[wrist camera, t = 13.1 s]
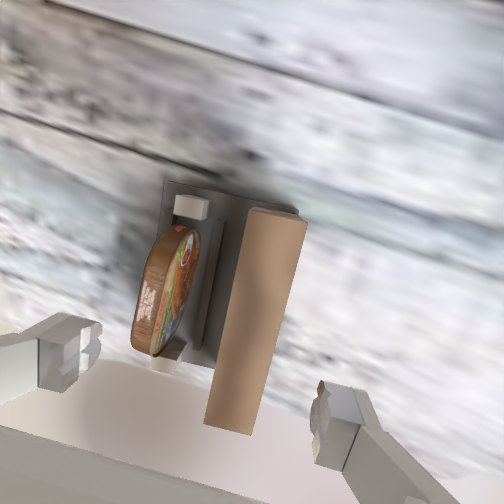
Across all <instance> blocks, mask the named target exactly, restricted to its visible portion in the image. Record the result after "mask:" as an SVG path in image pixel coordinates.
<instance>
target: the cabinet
mask: <svg viewBox="0 0 504 504" xmlns="http://www.w3.org/2000/svg"><path fill="white" fill-rule="evenodd" d="M298 212H299V210H296V209H291V208H287V207H282V206H278V205H273V204H269V203H264V202H260V201H256V200H251V199H247V198H242V197H238V196H233V195H229V194H224V193H220V192H216V191H211V190H207V189H202V188H198V187H193V186H189V185H184V184H180V183H176V182H171V181H165V182H164V190H163V197H162V204H161V211H160V219H159V226H158V233H157V239H158V237H159V236H160V235H161V234H162V232H163V231H165V230H166V229H168V228H170V227H172V226H174V225H181V226H185V227H187V228H190V229H196V230H198V231H199V232H200V234H201V249H200V254H199V259H198V262H197V266H196V270H195V274H194V277H193V281H192V285H191V288H190V292H189V296H188V300H187V303H186V307H185V310H184V313H183V316H182V319H181V322H180V324H179V326H178V328H177V330H176V332H175V334H174V336H173V338H172V339H171V341H170V343H169V344H168V346H167V347H166V349H165V350H164V351H163V352H162V354H161V355H160V356H158V357H156V358H153V357H152V360H151V367H150V369H151V370H155V371H159V372H164V373H168V374H172V375H175V373H176V371H177V369H178V367H179V365H180V364H181V362H182V361H183V362H187V363H191V364H195V365H200V366H204V367H208V368H212V369H215V371H214V376H213V381H212V385H211V390H210V395H209V399H208V404H207V409H206V413H205V418H204V424H206V425H210V426H214V427H218V428H222V429H226V430H230V431H234V432H238V433H242V434H246V435H250V436H251V435H252V431H253V427H254V424H255V420H256V416H257V412H258V409H259V405H260V401H261V398H262V394H263V390H264V386H265V383H266V379H267V375H268V371H269V368H270V364H271V360H272V356H273V353H274V349H275V345H276V342H277V338H278V334H279V330H280V327H281V323H282V319H283V315H284V312H285V308H286V304H287V300H288V297H289V293H290V289H291V285H292V282H293V278H294V274H295V271H296V267H297V263H298V259H299V256H300V252H301V248H302V244H303V241H304V237H305V233H306V229H307V226H308V223H307V222H306V221H305V220H303V219H302V218H301V217H300V216H298Z"/></svg>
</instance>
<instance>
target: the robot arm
mask: <svg viewBox="0 0 504 504" xmlns="http://www.w3.org/2000/svg"><path fill="white" fill-rule="evenodd" d="M101 334H102V324H101V323H100V322H96V321H93V320H89V319H86V318H82V317H79V316H74V315H71V314H68V313H64V312H58V313H56V314H54V315H53V316H51V317H49V318H47V319H45V320H43V321H41V322H40V323H38V324H36V325H34V326H32V327H30V328H28V329H27V330H25V331H23V332H21V333H19V334H18V333H11V334H6V335H1V336H0V405H2V404H5V403H7V402H9V401H11V400H13V399H16V398H18V397H20V396H22V395H25V394H27V393H29V392H31V391H33V390H36V389H37V388H38V387H39V388H43V389H48V390H51V391H55V392H59V393H63V392H64V391H66V390H67V389H68V388H69V387H70V386H71V385H72V384H73V383H74V382H75V381H77V380H78V377H79V373H81V372H84V371H87V370H88V369H89V368H91V367H92V366H93V365H94V363H95V362H96V360H97V358H98V357H99V354H100V351H101V343H100V341H99V339H98V337H99V336H100V335H101ZM317 393H318V397H317V398H316V399H314V400H313V404H312V407H311V413H310V429H311V432H312V433H313V434H314V439H313V442H312V446H313V455H314V462H315V464H317V465H321V466H324V467H327V468H330V469H333V470H337V471H340V472H342V475H343V476H344V478H345V480H346V482H347V483H348V485H349V486H350V488H351V490H352V491H353V493H354V495H355V496H356V498H357V500H358V501H359V503H360V504H460V503H459V502H458V501H457V500H456V499H455V498H454V497H453V496H452V495H451V494H450V493H449V492H448V491H447V490H446V489H445V488H444V487H443V486H442V485H441V484H440V483H439V482H438V481H437V480H436V479H435V478H434V477H433V476H432V475H431V474H430V473H429V472H428V471H427V470H426V469H425V468H424V467H423V466H422V465H421V464H420V463H418V462H417V461H416V460H415V459H414V458H413V457H412V456H411V455H410V454H409V453H408V452H407V451H406V450H405V449H404V448H403V447H402V446H401V445H400V444H399V443H398V442H397V441H396V440H395V439H394V438H393V437H392V436H391V435H390V434H389V433H388V432H384V431H383V429H382V427H381V424H380V422H379V420H378V417H377V415H376V413H375V410H374V408H373V406H372V403H371V401H370V399H369V396H368V394H367V392H366V391H365V390H362V389H357V388H353V387H347V386H343V385H339V384H335V383H331V382H327V381H323V380H321V381H320V383H319V385H318V388H317ZM0 504H269V503H265V502H262V501H259V500H255V499H252V498H248V497H245V496H242V495H238V494H235V493H231V492H228V491H225V490H221V489H218V488H214V487H211V486H208V485H204V484H201V483H197V482H194V481H191V480H187V479H184V478H180V477H177V476H173V475H170V474H166V473H163V472H160V471H156V470H153V469H149V468H146V467H142V466H139V465H136V464H132V463H129V462H125V461H122V460H118V459H115V458H111V457H108V456H105V455H101V454H97V453H94V452H91V451H87V450H84V449H80V448H77V447H74V446H70V445H66V444H63V443H59V442H57V441H53V440H49V439H46V438H43V437H39V436H36V435H33V434H29V433H26V432H22V431H18V430H15V429H12V428H8V427H5V426H1V425H0Z"/></svg>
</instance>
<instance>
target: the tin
mask: <svg viewBox="0 0 504 504" xmlns="http://www.w3.org/2000/svg"><path fill="white" fill-rule="evenodd" d="M200 249H201V234H200V232H199V231H198V230H196V229H190V228H187V227H185V226H181V225H174V226H172V227H170V228H168V229H166V230H165V231H163V232H162V234H161V235H160V236H159V237H158V239H157V240H156V242H155V243H154V245H153V247H152V249H151V251H150V254H149V256H148V259H147V262H146V265H145V270H144V274H143V278H142V283H141V287H140V292H139V296H138V301H137V306H136V310H135V315H134V320H133V325H132V330H131V338H130V339H131V345H132V347H133V348H134V349H136V350H138V351H140V352H142V353H145V354H148V355H150V356H151V357H153V358H156V357H158V356H160V355H161V354H162V352H163V351H164V350H165V349H166V347H167V346H168V344H169V343H170V341H171V339H172V338H173V336H174V334H175V332H176V330H177V328H178V326H179V324H180V322H181V319H182V316H183V313H184V310H185V307H186V303H187V300H188V296H189V292H190V288H191V285H192V281H193V277H194V274H195V270H196V266H197V262H198V259H199V254H200Z"/></svg>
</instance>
